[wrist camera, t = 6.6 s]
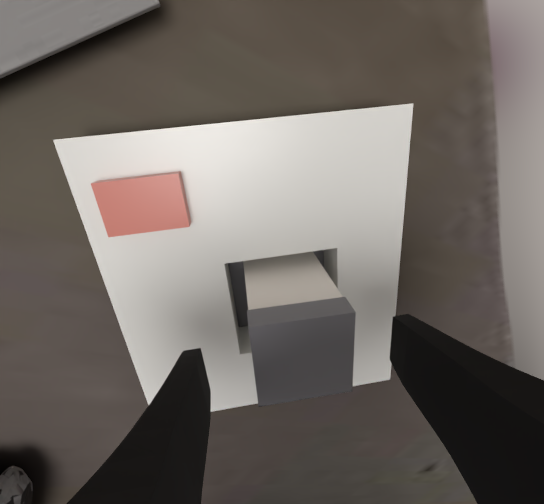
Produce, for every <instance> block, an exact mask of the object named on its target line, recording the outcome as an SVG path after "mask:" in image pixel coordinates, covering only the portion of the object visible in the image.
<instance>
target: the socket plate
mask: <svg viewBox="0 0 544 504" xmlns="http://www.w3.org/2000/svg"><path fill="white" fill-rule="evenodd" d="M412 112H413V104H404V105H394V106H384V107H374V108H364V109H354V110H344V111H335V112H325V113H315V114H305V115H295V116H285V117H275V118H265V119H255V120H245V121H236V122H226V123H216V124H206V125H196V126H186V127H176V128H166V129H156V130H146V131H137V132H127V133H117V134H107V135H97V136H87V137H77V138H67V139H57V140H53V141H54V144H55V147H56V149H57V152H58V155H59V158H60V160H61V163H62V166H63V169H64V172H65V174H66V177H67V180H68V183H69V185H70V188H71V191H72V194H73V197H74V199H75V202H76V205H77V208H78V210H79V213H80V216H81V219H82V222H83V224H84V227H85V230H86V233H87V235H88V238H89V241H90V244H91V247H92V249H93V252H94V255H95V258H96V260H97V263H98V266H99V269H100V272H101V274H102V277H103V280H104V283H105V286H106V288H107V291H108V294H109V297H110V299H111V302H112V305H113V308H114V311H115V313H116V316H117V319H118V322H119V324H120V327H121V330H122V333H123V336H124V338H125V341H126V344H127V347H128V349H129V352H130V355H131V358H132V361H133V363H134V366H135V369H136V372H137V374H138V377H139V380H140V383H141V386H142V388H143V391H144V394H145V397H146V399H147V402H148V405H149V404H150V403H151V402H152V400H153V398H154V397H155V395H156V394H157V392H158V391H159V389H160V388H161V386H162V385H163V383H164V381H165V380H166V378H167V377H168V375H169V373H170V372H171V370H172V368H173V367H174V365H175V363H176V362H177V360H178V358H179V356H180V355H181V353H182V352H183V351H185V350H191V349H197V348H201V351H202V356H203V360H204V364H205V368H206V373H207V377H208V381H209V385H210V390H211V412H212V411H218V410H223V409H229V408H234V407H240V406H246V405H251V404H257V403H258V398H257V390H256V383H255V375H254V367H253V359H252V351H251V344H250V336H249V328H248V318H247V310H248V303H247V293H246V283H245V274H244V264H243V261H248V260H255V259H262V258H269V257H276V256H283V255H290V254H298V253H305V252H312V251H313V252H314V254H315V256H316V257H317V259H318V260H319V262H320V263H321V265H322V266H323V268H324V269H325V271H326V272H327V274H328V275H329V277H330V278H331V280H332V281H333V283H334V284H335V286H336V287H337V289H338V290H339V292H340V293H341V295H342V296H343V297H346V299H347V300H348V302H349V303H350V305H351V306H352V308H353V309H354V310H355V312H356V317H355V340H354V363H353V386H357V385H362V384H368V383H373V382H379V381H385V380H390V375H391V361H390V346H391V333H392V320H393V317H394V316H395V315H396V303H397V291H398V279H399V267H400V255H401V243H402V231H403V219H404V207H405V196H406V184H407V172H408V160H409V148H410V136H411V124H412Z"/></svg>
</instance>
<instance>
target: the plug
mask: <svg viewBox="0 0 544 504" xmlns="http://www.w3.org/2000/svg"><path fill="white" fill-rule="evenodd" d="M243 264H244V274H245V283H246V293H247V303H248V310H247V318H248V328H249V336H250V344H251V351H252V359H253V367H254V375H255V383H256V390H257V398H258V406H259V407H260V406H266V405H272V404H278V403H284V402H290V401H296V400H302V399H308V398H314V397H320V396H327V395H333V394H339V393H345V392H351V391H352V386H353V363H354V340H355V317H356V312H355V310H354V309H353V308H352V306H351V305H350V303H349V302H348V300H347V299H346V297H343V296H342V295H341V293H340V292H339V290H338V289H337V287H336V286H335V284H334V283H333V281H332V280H331V278H330V277H329V275H328V274H327V272H326V271H325V269H324V268H323V266H322V265H321V263H320V262H319V260H318V259H317V257H316V256H315V254H314V252H313V251H312V252H305V253H298V254H290V255H283V256H276V257H269V258H262V259H255V260H248V261H243Z"/></svg>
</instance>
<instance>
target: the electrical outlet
mask: <svg viewBox="0 0 544 504" xmlns="http://www.w3.org/2000/svg"><path fill="white" fill-rule="evenodd" d="M160 6H161V5H160V3H159V1H158V0H0V79H1V78H3V77H5V76H7V75H9V74H12V73H14V72H16V71H18V70H20V69H23V68H25V67H27V66H29V65H32V64H34V63H36V62H38V61H40V60H43V59H45V58H47V57H49V56H51V55H54V54H56V53H58V52H60V51H63V50H65V49H67V48H69V47H71V46H74V45H76V44H78V43H80V42H82V41H85V40H87V39H89V38H91V37H93V36H96V35H98V34H100V33H102V32H105V31H107V30H109V29H111V28H113V27H116V26H118V25H120V24H122V23H124V22H127V21H129V20H131V19H133V18H136V17H138V16H140V15H142V14H144V13H147V12H149V11H151V10H153V9H155V8H158V7H160Z"/></svg>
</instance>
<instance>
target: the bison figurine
mask: <svg viewBox="0 0 544 504" xmlns="http://www.w3.org/2000/svg"><path fill="white" fill-rule="evenodd" d="M32 498H33V485H32V481H31V480H30V478H29V477H28V476H27V475H26V473H25V472H24V470H23V469H21V468H19V467H16V466H11V467H9V468H8V469H6V470H5V471H4V472H3V473H2V474H1V475H0V504H32Z"/></svg>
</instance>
